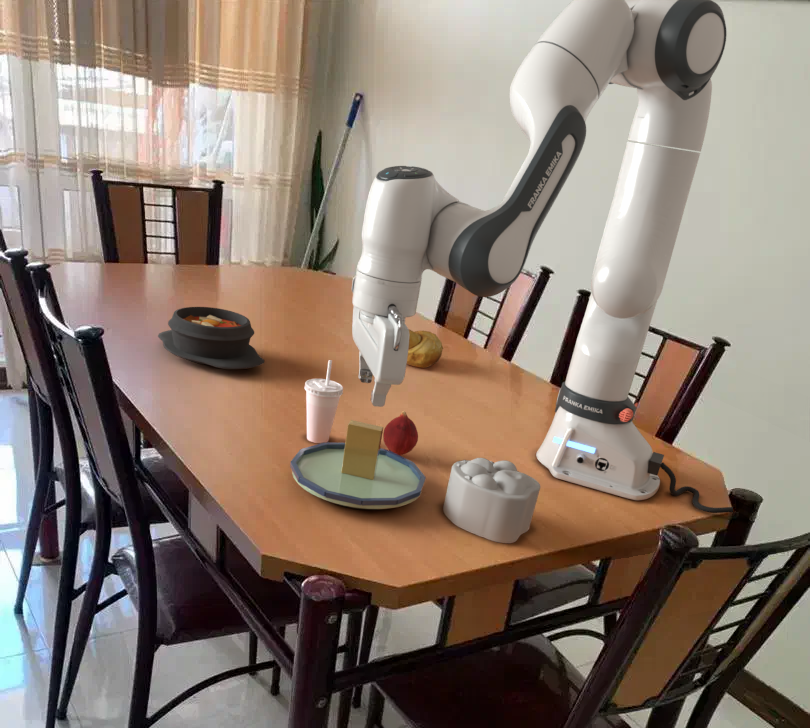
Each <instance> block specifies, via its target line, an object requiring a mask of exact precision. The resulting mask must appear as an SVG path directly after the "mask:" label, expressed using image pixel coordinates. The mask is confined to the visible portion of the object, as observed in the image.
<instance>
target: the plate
mask: <svg viewBox="0 0 810 728" xmlns="http://www.w3.org/2000/svg"><path fill="white" fill-rule="evenodd" d="M383 433H384V426H381V425H376V424H372V423H367V422H362V421H359V420H354V419H350V421H349V422H348V424H347V429H346V436H345V442H329V441H328V442H326V443H316V444H314V445H309V446H307V447H303V448H301V449H299V450H298V451H297V452H296V454H295V456H294V457H293V458H292V459H291V460H290V463H289V467H290V469H291V475H292V477H293V479H294V481H295V482H296V483H297V484H298V486H300V487H301V488H302V489H303V490H304V491H306V492H307V493H309V494H311V495H313V496H315V497H317V498H319V499H321V500H324V501H326V500H327V501H326V502H328V501H330V502H333V503H336V504H340V505H344V506H349V507H356V508H365V509H378V510H387V509H394V508H399V507H403V506H406V505H409V504H411V503H413V502H415V501H416V500H417V499H419V497H421V495H422V493H423V491H424V490H423V489H424V487H425V484H426V480H427V478H426V475H425V474H424V473H423V472H422V471H421V469H420V468H419V467H418V466H417V464H416V463H415V462H414V461H412V460H410V459H408V458H406V457H405V456H403V455H401V456H400V455H398V454H396V453H394V452H392V451H390V450H389V449H388V448H382V447H381V445H382V438H383ZM330 502H329V503H330ZM333 503H332V504H333ZM336 504H335V505H336Z"/></svg>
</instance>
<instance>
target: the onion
mask: <svg viewBox="0 0 810 728" xmlns="http://www.w3.org/2000/svg"><path fill="white" fill-rule="evenodd" d="M417 429H418V428H417V427H416V424H415V422H414V421H413V420H412V419H411V418H410V417H408V415H407V412H406V411H405V410H402V412H401V413H400V415H399V416H397V417H395V418H393V419H391V420H390V421H389V422H388V423H387V424H386V425H385V426H384V428H383V433H382V438H383V443H384V445H385V447H386V449H387V450H390V451H392V452H394V453H396V454H398V455H400V456H403V455H407V454H409V453H410V452H411V451H413V449H414V448H416V446H417V443H418V441H419V432H418V430H417Z"/></svg>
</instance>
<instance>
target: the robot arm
mask: <svg viewBox="0 0 810 728" xmlns="http://www.w3.org/2000/svg"><path fill="white" fill-rule="evenodd" d="M726 42H727V25H726V19H725V15H724V12H723V10H722V7H720V5H719V4H718V3H717V2H715V1H714V0H571V1H570V3H568V4H567V5H566V6H565V7H564V8H563V10H561V11H560V13H558V15H557V16H556V17H555V18H554V19H553V20H552V22H550V24H549V25H548V26H547V27H546V29H545V30H544V31H543V33H541V35H540V37H539V38H538V39H537V41H536V42H535V43H534V45H532V47H531V49H530V50H529V51H528V53H527V55H526V56H525V57H524V59H523V60H522V62H521V63H520V65H519V66H518V68H517V70H516V72H515V75H514V76H513V77H512V78H513V79H512V81H511V83H510V86H509V106H510V111H511V115H512V117H513V119H514V121H515V123H516V125H517V126H518V128H519V130H521V132H522V133H523V134H524V136H525V137H526V139H528V141H529V150H528V152H527V155H526V157H525V159H524V161H523V163H522V164H521V166H520V167H519V170H518V172H517V173H516V175H515V177H514V178H513V180H512V182H511V184H510V186H509V187H508V189H507V191H506V192H505V194H504V196H503V198H502V200H501V201H500V202H499V203H498V204H497V205H496V206H494V207H492V208H490V209H487V210H484V209H481V208H477V207H475V206H472V205H470V204H468V203H465V202H462V201H461V200H460V199H458V198H457V197H455V196H453V195H452V194H451V193H450V192H449V191H447V190H446V189H445V188H443V186H442V185H441V184H440V183H439V182H438V180H436V178H435V175H434V173H433V172H432V171H430V170H428V169H426V168H424V167H420V166H415V165H414V166H412V165H411V166H407V165H396V166H395V165H394V166H388V167H386V168H384V169H382V170H379V171H378V173H377V174H376V175H375V177H374V178H373V180H372V182H371V185H370V189H369V192H368V195H367V199H366V203H365V209H364V214H363V215H364V216H363V221H362V228H361V243H362V249H361V255H360V258H359V260H358V262H357V265H356V272H355V276H354V277H353V278H352V283H351V293H352V300H351V301H352V302H351V303H352V305H353V307H352V308H353V309H352V323H351V324H352V325H351V334H352V341H353V342H354V344H355V346H356V348H357V349H358V351H359V352H358V359H359V360H358V363H359V368H358V369H359V370H358V379H359V381H360V383H362V384H364V383H365V384H371V383H372V381H373V377H374V384H373V385H374V386H373V389H372V390H371V394H370V402H371V405H372V406H373V407H378V408H383V407H385V405H386V400H387V395H388V393H389V391H390V389H391V387H392V385H394V386H400V385H401V384H403V382H404V379H405V377H406V369H407V365H408V364H407V356H408V348H409V330H408V329H409V328H408V326H407V325H406V318H411V317H412V318H413V317H414V316H415V315H416V314H417V309H418V302H419V298H420V297H419V296H420V292H421V286H422V280H423V273H424V272H425V271H426V270H430V271H432V272H435V273H436V274H438V275H439V276H440V277H443V278H446V279H448V280H450V281H452V282H454V283H456V284H457V285H458V286H459V287H461V288H463V289H465V290H466V291H468V292H469V293H470V294H472V295H474V296H477V297H481V298H491V297H494V296H497V295H498V294H501V293H503V292H504V291H505V290H507V289H508V288H509V287H510V286H512V285H513V284H514V283H515V282H516V280H517V279H518V278H519V277H520V275H521V273H522V271H523V269H524V267H525V264H526V262H527V259H528V256H529V254H530V251H531V248H532V245H533V242H534V240H535V238H536V237H537V234H538V232H539V231H540V228H541V227H542V224H543V223H544V221H545V219H546V218H547V216H548V214H549V212H550V210H551V209H552V207H553V205H554V203H555V201H556V200H557V198H558V196H559V194H560V193H561V191H562V188H563V187H564V186H565V184H566V182H567V179H568V178H569V176H570V174H571V173H572V171H573V169H574V167H575V165H576V163H577V161H578V159H579V156H580V154H581V152H582V150H583V148H584V144H585V142H586V137H587V124H586V121H587V119H588V116H589V115H590V113H591V111H592V109H593V108H594V106H595V105H596V103H597V102H598V101H599V99H600V98H601V96H602V95H603V94H604V92H605V90H606V89H607V88H608V86H609V85H613V84H614V85H617V86H622V87H627V88H633V89H636V93H637V103H638V104H637V107H636V110H635V112H634V116H633V119H632V122H631V125H630V129H629V133H628V136H627V141H626V144H625V149H624V152H623V156H622V161H621V164H620V168H619V173H618V177H617V180H616V185H615V188H614V193H613V197H612V200H611V204H610V207H609V211H608V215H607V217H606V221H605V226H604V229H603V233H602V235H601V236H602V237H601V240H600V244H599V247H598V251H597V255H596V260H595V262H594V266H593V271H592V274H591V278H590V291H591V292H590V295H589V299H588V302H587V306H586V309H585V312H584V316H583V318H582V322H581V324H580V328H579V331H578V334H577V338H576V341H575V345H574V347H573V352H572V356H571V359H570V364H569V367H568V370H567V374H566V378H565V381H563V382H562V383H561V387H560V388H559V391H558V394H557V399H556V402H555V408H554V413H555V414H554V416H553V419H552V421H551V424H550V427H549V428H548V431H547V433H546V435H545V437H544V440H543V441H542V443H541V444H540V446H539V447H538V449H537V451H536V453H535V457H536V459H537V460H538V461H539V463H541V465H543V466H544V467H545V468H547V469H548V470H549V472H550V474H551V475H552V476H553V477H554V478H555V479H559V480H562V481H566V482H568V483H573V484H576V485H579V486H583V487H587V488H590V489H594V490H597V491H599V492H604V493H607V494H611V495H615V496H619V497H622V498H625V499H629V500H632V501H644V500H647V499H650V498H652V497H653V496H655V494H656V493H657V492H658V491H659V488H660V484H661V479H660V477H659V475H658V474H659V472H660V469H661V470H662V471H664V472H665V473H666V474H667V475H668V477H669V480H670V481H669V490H668V491H669V493H670V495H672V496H673V497H677V496H678V497H679V496H680V495H682V494H683V493H686V492H689V493H691V494H693V497H692V500H691V501H692V504H693V506H694V507H695V508H696V509H698V510H699V511H702V512H705V513H710V514H722V513H724V514H725V513H734V512H733V507H734V506H723V507H713V506H712V507H711V506H707V505H704V504H702V503H700V502H699V499H700V492H699V490H698V489H696V488H694V487H692V486H687V485H684V486H681V487H679V488H678V489H677V490H676V484H677V477H676V475H675V473H674V472H673V470H671V469H672V468H670V467H668V465H666V463H665V462H663V460H664V457H665V454H662V453H660V452H656V451H653V448H652V446H651V445H650V443H649V442H648V441H647V440H646V438H645V436H643V434H642V433H641V431H640V430H639V429H638V427H637V426H636V425H635V423H634V422H633V421H634V418H635V415H636V411H637V409H638V407H639V406H638V405H639V403H638V402H635V403H634V402H633V401H632V400H631V398H630V397H629V394H630V390H631V388H632V384H633V382H634V378H635V375H636V372H637V370H638V369H637V368H638V365H639V362H640V359H641V355H642V354H643V349H644V345H645V342H646V339H647V335H648V332H649V329H650V325H651V323H652V319H653V316H654V312H655V309H656V306H657V303H658V300H659V299H660V296H661V294H662V291H663V288H664V285H665V281H666V278H667V274H668V270H669V266H670V263H671V259H672V257H673V252H674V248H675V246H676V241H677V238H678V234H679V230H680V227H681V223H682V221H683V220H682V219H683V216H684V212H685V209H686V206H687V202H688V198H689V194H690V191H691V188H692V184H693V180H694V178H695V173H696V170H697V167H698V164H699V159H700V156H701V153H700V152H702V148H703V144H704V141H705V138H706V132H707V128H708V121H709V116H710V110H711V103H712V93H713V83H712V77H713V75H714V74H715V72H716V70H717V68H718V66H719V64H720V62H721V59H722V57H723V54H724V50H725V47H726V44H727V43H726ZM750 523H756V521H755V519H754V521H753V522H752V521H751V522H750Z"/></svg>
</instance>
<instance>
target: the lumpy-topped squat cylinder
mask: <svg viewBox="0 0 810 728" xmlns="http://www.w3.org/2000/svg"><path fill="white" fill-rule="evenodd" d="M540 491H541V484H540V482H539V481H538V480H537V479H535V478H534V477H532V476H530V475H528V474H526V473H524V472H521V471H519V470H518V468H517V466H516V465H515V464H514V463H513V462H512V461H510V460H507V459H506V460H498V461H495V462H494V461H492V460H489V459H487V458H485V457H476V458H473V459H470V460H469V459H467V460H466V459H463V460H458V461H456V462H454V463H453V464H452V466H451V469H450V474H449V479H448V484H447V488H446V493H445V496H444V502H443V507H442V510H443V513H444V515H445V517H446V518H447V519H448V520H449V521H450V522H451V523H452V524H454V525H455V526H456V527H458V528H460V529H462V530H464V531H467V532H468V533H471V534H473V535H475V536H477V537H480V538H483V539H486V540H489V541H492V542H495V543H501V544H514V543H515V542H517V541H518V540H519V538H520V537H521V535H523V534H525V533H527V532H528V531H529V530H530V526H531V523H532V520H533V517H534V512H535V509H536V505H537V502H538V498H539V495H540Z"/></svg>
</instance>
